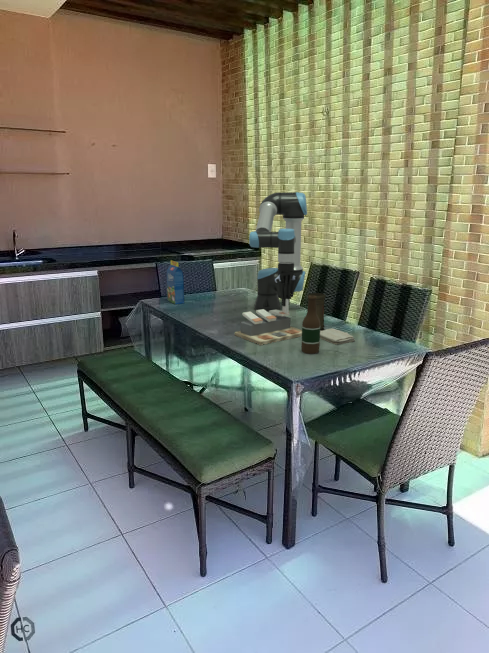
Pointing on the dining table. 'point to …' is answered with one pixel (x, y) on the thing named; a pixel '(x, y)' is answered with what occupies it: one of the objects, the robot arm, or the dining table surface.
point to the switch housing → (265, 326)
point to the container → (320, 308)
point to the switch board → (272, 336)
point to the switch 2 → (278, 313)
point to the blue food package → (175, 284)
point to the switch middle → (266, 315)
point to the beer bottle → (311, 328)
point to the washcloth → (336, 336)
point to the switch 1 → (252, 317)
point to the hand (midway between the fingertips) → (285, 312)
